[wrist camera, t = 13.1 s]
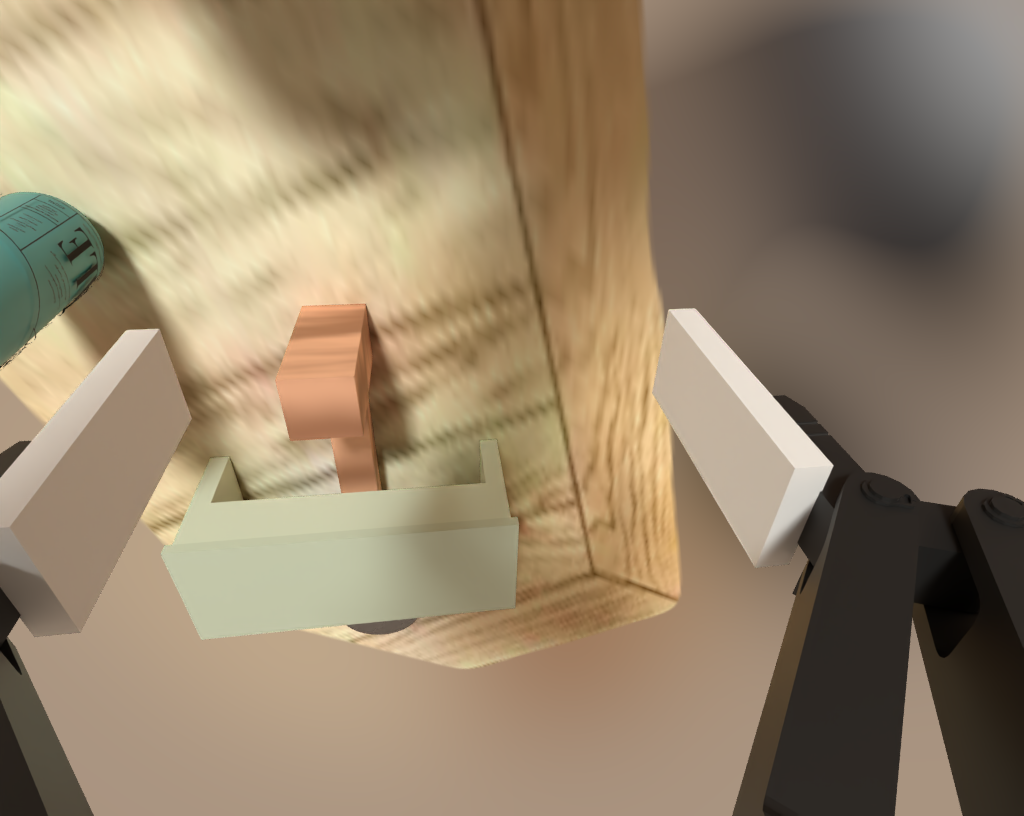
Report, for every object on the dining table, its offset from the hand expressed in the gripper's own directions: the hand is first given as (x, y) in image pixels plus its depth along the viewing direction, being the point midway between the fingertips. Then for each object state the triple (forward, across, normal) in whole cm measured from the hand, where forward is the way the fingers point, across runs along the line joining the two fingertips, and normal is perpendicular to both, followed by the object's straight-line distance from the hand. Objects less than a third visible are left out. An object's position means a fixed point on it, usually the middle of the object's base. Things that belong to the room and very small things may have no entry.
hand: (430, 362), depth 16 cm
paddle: (+27, -7, -22) cm, 35 cm away
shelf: (+27, -7, -29) cm, 40 cm away
